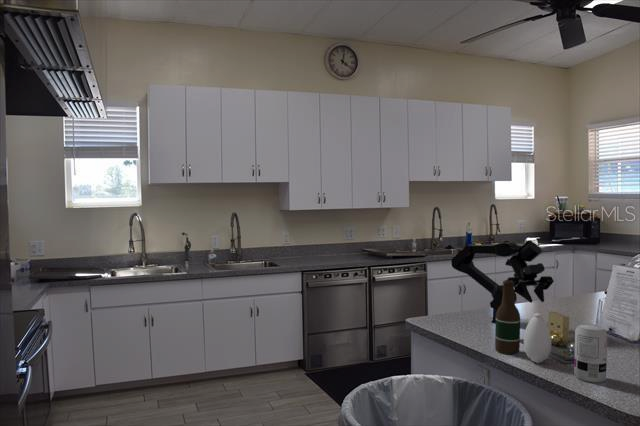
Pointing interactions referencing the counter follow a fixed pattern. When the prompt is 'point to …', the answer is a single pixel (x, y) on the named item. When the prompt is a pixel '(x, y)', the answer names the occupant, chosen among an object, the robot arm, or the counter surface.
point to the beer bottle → (507, 322)
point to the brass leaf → (558, 328)
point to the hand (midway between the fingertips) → (537, 301)
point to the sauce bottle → (537, 338)
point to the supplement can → (590, 353)
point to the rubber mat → (554, 347)
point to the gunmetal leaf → (565, 352)
